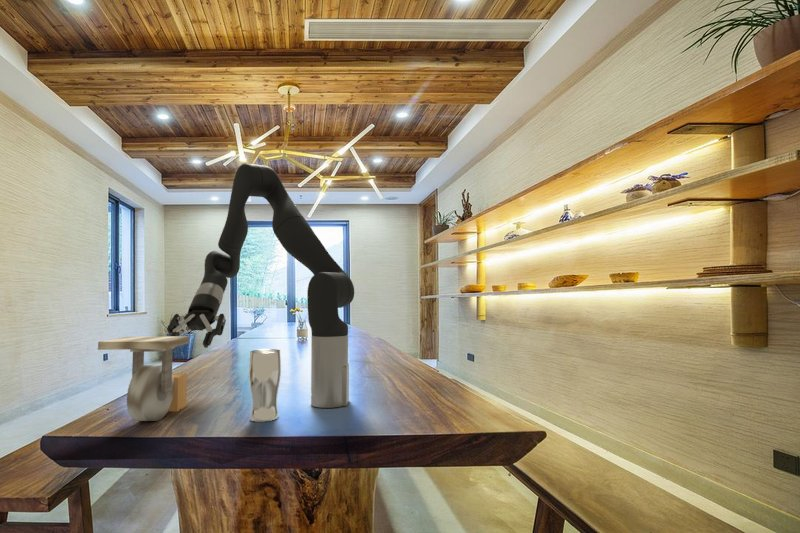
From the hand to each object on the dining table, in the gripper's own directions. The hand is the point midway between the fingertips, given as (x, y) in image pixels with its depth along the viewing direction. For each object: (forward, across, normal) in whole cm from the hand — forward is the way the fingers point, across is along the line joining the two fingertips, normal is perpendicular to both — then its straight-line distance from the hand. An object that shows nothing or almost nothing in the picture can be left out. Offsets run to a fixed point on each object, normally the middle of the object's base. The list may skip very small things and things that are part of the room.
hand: (188, 346), depth 116 cm
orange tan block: (+16, 0, +4) cm, 17 cm away
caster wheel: (+23, 0, -3) cm, 23 cm away
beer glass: (+23, +25, -3) cm, 34 cm away
